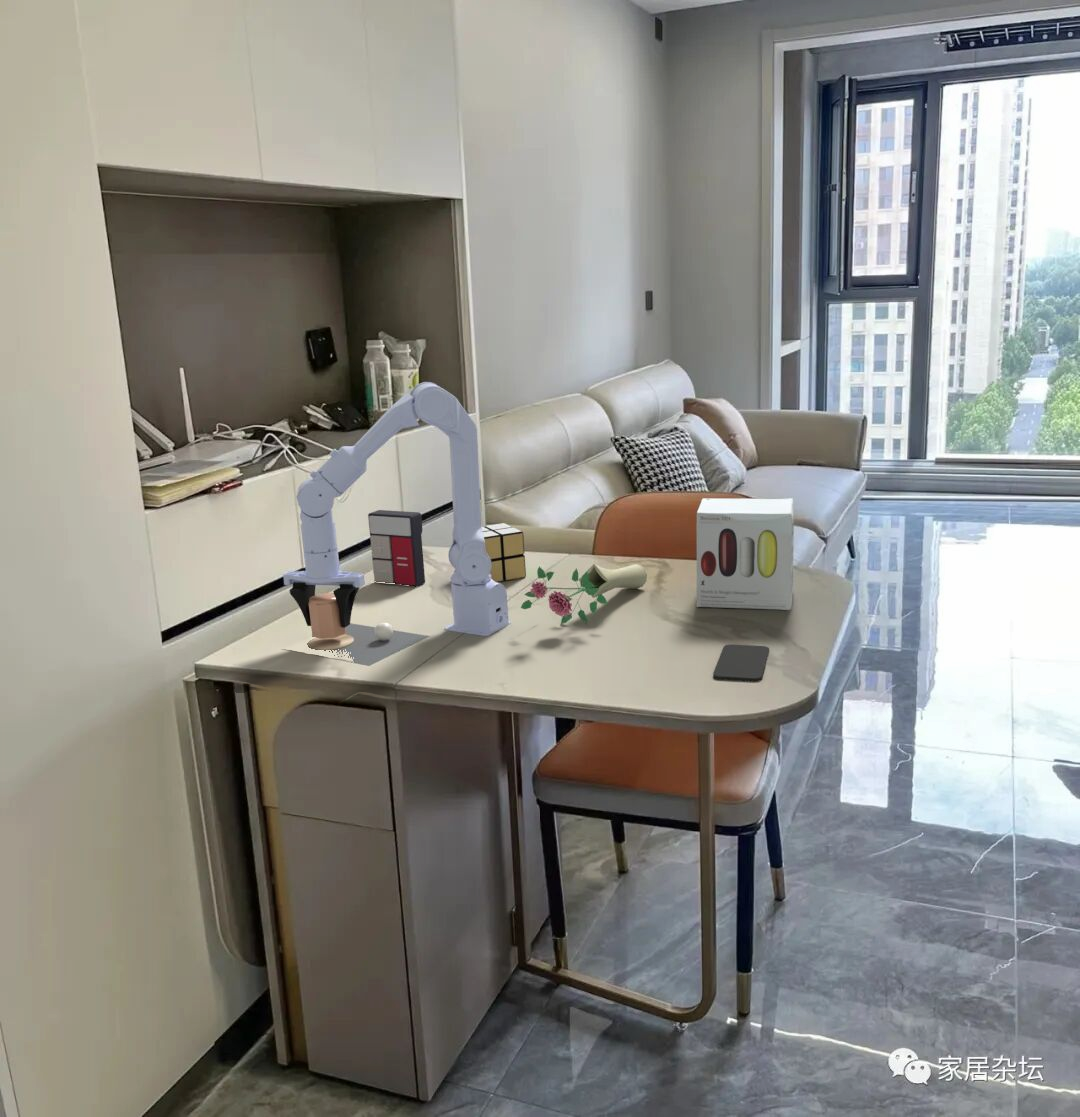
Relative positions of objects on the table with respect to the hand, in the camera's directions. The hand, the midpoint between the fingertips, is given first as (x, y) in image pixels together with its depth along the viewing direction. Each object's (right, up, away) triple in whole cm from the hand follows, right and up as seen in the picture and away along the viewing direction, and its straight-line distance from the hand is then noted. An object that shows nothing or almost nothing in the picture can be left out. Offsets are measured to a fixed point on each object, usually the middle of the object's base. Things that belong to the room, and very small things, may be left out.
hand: (328, 625), depth 187 cm
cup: (0, -1, 0) cm, 2 cm away
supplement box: (+75, +4, +14) cm, 76 cm away
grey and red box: (+7, +6, +38) cm, 39 cm away
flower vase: (+47, +1, +11) cm, 48 cm away
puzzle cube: (+27, +8, +39) cm, 48 cm away
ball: (+10, -1, 0) cm, 10 cm away
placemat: (+5, -3, 0) cm, 6 cm away
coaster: (0, -3, +1) cm, 3 cm away
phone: (+68, -5, -18) cm, 71 cm away
